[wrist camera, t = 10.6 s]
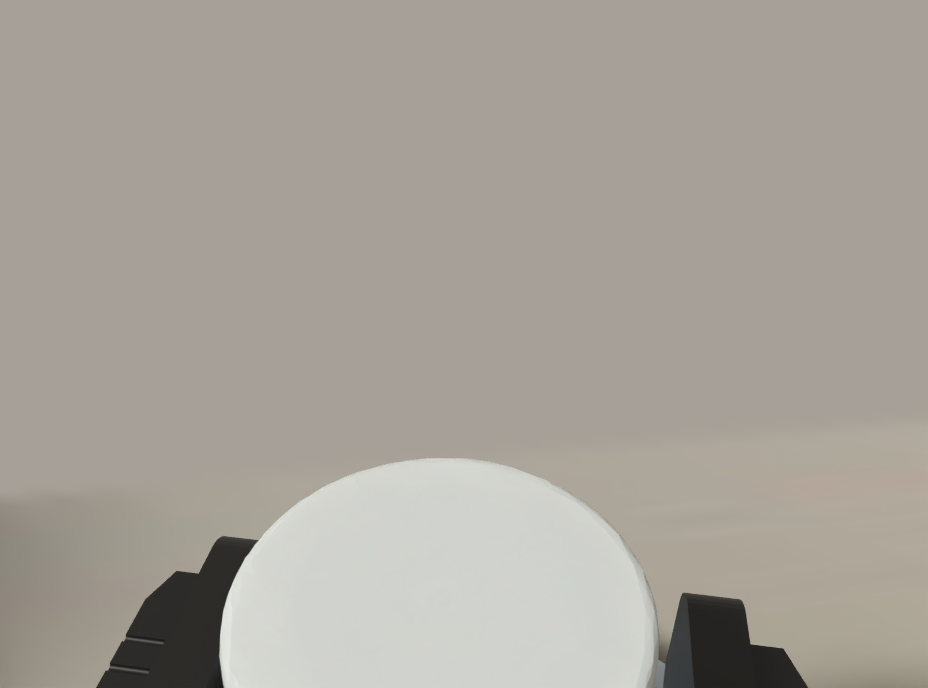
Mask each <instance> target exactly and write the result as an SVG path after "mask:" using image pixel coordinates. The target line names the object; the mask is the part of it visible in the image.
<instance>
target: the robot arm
mask: <svg viewBox="0 0 928 688" xmlns="http://www.w3.org/2000/svg"><path fill="white" fill-rule="evenodd" d="M258 541H259V540H252V539H243V538H235V537H227V536H222V537H220V538H219V539H218V540H217V541H216V542H215V544H214V545H213V547H212V549H211V551H210V553H209V555H208V557H207V559H206V561H205V563H204V564H203V566H202V568H201V570H200V572H199V574H196V573H188V572H180V571H176V572H175V573H174V574H173V575H172V576H171V577H170V578H168V579H167V580H166V581H165V582H164V583H163V584H162V585H161V586H160V587H159V588H157V589H156V590H155V591H154V592H153V593H152V594H151V595H150V596H149V597H148V598H146V599H145V601H144V603H143V605H142V606H141V608H140V610H139V612H138V614H137V615H136V617H135V619H134V621H133V623H132V624H131V626H130V628H129V630H128V632H127V633H126V639H125V641H124V642H123V641H122V642H121V644H120V646H119V648H118V650H117V651H116V653H115V655H114V657H113V659H112V660H111V662H110V668H109V670H108V671H105V673H104V675H103V677H102V678H101V680H100V682H99V684H98V686H97V687H96V688H224V685H223V680H222V672H221V665H220V657H219V654H220V632H221V625H222V617H223V610H224V606H225V603H226V600H227V596H228V593H229V591H230V588H231V586H232V584H233V581H234V579H235V576H236V574H237V573H238V571H239V569H240V567H241V565H242V563H243V561H244V559H245V557H246V556H247V555H248V554H249V553H250V551H251V550H252V548H253V547H254V545H255V544H256V543H257V542H258ZM663 688H808V687H807V685H806V684H805V682H804V681H803V679H802V677H801V676H800V674H799V673H798V671H797V669H796V668H795V666H794V665H793V663H792V662H791V660H790V658H789V657H788V655H787V654H786V652H785V651H784V649H782V648H774V647H766V646H759V645H751V644H750V639H749V632H748V625H747V618H746V612H745V607H744V604H743V602H742V601H741V600H740V599H732V598H724V597H715V596H707V595H699V594H690V593H683V594H682V596H681V598H680V602H679V607H678V611H677V616H676V620H675V624H674V629H673V633H672V638H671V642H670V647H669V651H668V655H667V660H666V665H665V672H664V681H663Z"/></svg>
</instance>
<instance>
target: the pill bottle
mask: <svg viewBox="0 0 928 688" xmlns="http://www.w3.org/2000/svg"><path fill="white" fill-rule="evenodd" d="M219 657H220V665H221V672H222V680H223V685H224V688H654V686H655V681H656V676H657V666H658V657H659V629H658V620H657V611H656V605H655V602H654V599H653V596H652V593H651V590H650V587H649V584H648V581H647V579H646V577H645V574H644V572H643V570H642V568H641V566H640V564H639V562H638V561H637V559H636V557H635V555H634V554H633V552H632V551H631V550H630V548H629V547H628V546H627V544H626V543H625V541H624V540H623V538H622V537H621V536H620V534H619V533H618V532H617V531H616V530H615V529H614V528H613V527H612V525H611V524H610V523H609V522H608V521H607V520H606V519H605V518H603V517H602V516H601V515H600V514H599V513H598V512H597V511H595V510H594V509H593V508H592V507H590V506H589V505H588V504H586V503H585V502H584V501H582V500H581V499H579V498H577V497H575V496H574V495H572V494H571V493H570V492H568V491H567V490H565V489H563V488H561V487H559V486H557V485H556V484H553V483H551V482H549V481H547V480H544V479H542V478H540V477H537V476H535V475H533V474H530V473H528V472H524V471H520V470H517V469H515V468H513V467H509V466H505V465H501V464H497V463H493V462H488V461H480V460H472V459H463V458H429V459H418V460H407V461H403V462H397V463H390V464H385V465H381V466H378V467H374V468H371V469H368V470H364V471H360V472H357V473H354V474H351V475H349V476H346V477H344V478H342V479H339V480H337V481H335V482H333V483H330V484H328V485H326V486H324V487H323V488H321V489H319V490H318V491H316V492H315V493H313V494H312V495H310V496H308V497H307V498H305V499H303V500H301V501H300V502H299V503H297V504H296V505H295V506H293V507H292V508H291V509H290V510H288V511H287V512H286V513H285V514H284V515H283V516H282V517H280V518H279V519H278V520H277V521H276V522H275V523H274V524H273V525H272V526H271V527H270V528H269V529H268V530H267V531H266V532H265V533H264V535H263V536H262V537H261V539H260V540H259V541H258V542H257V543H256V544H255V545H254V547H253V548H252V550H251V551H250V553H249V554H248V555H247V556H246V557H245V559H244V561H243V563H242V565H241V567H240V569H239V571H238V573H237V574H236V576H235V579H234V581H233V584H232V586H231V588H230V591H229V593H228V596H227V600H226V603H225V606H224V610H223V617H222V625H221V632H220V654H219Z"/></svg>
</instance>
